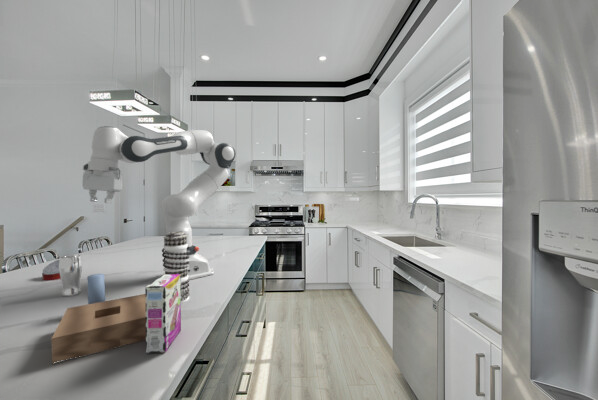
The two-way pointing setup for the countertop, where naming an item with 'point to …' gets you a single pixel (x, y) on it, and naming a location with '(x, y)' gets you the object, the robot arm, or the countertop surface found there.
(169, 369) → the countertop surface
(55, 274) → the red base snow globe
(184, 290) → the decorative candle
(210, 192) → the robot arm
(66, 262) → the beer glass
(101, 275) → the peg
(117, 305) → the socket block
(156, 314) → the candy bar box
